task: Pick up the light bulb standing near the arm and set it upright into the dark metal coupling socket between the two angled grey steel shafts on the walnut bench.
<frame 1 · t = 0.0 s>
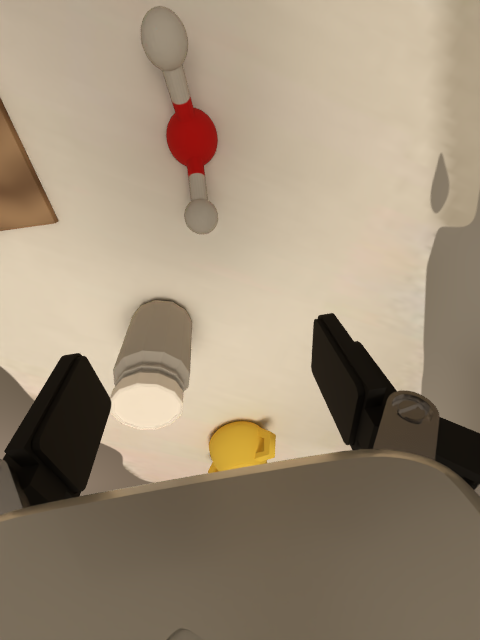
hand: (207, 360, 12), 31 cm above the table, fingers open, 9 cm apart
molecular model: (191, 138, 33), on the table
jar: (163, 320, 47), on the table
yellow sugar bowl: (243, 437, 70), on the table
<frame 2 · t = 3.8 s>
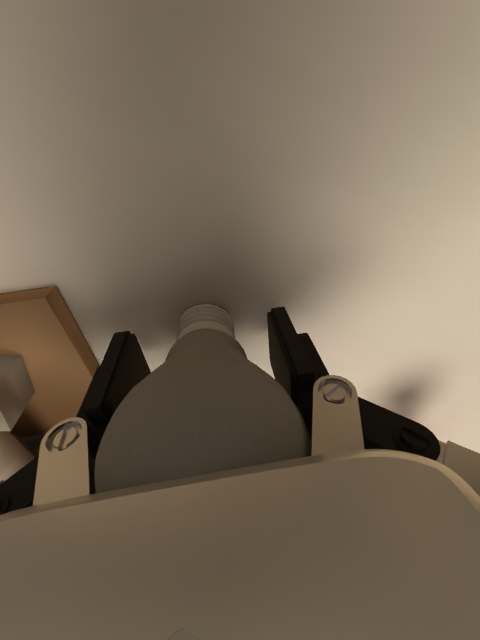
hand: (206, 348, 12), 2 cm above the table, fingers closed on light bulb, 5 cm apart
light bulb: (206, 319, 14), on the table, touching gripper
shaft bench: (44, 467, 19), on the table
when the fingers open (5 cm above the table, at t = 8.8 s): light bulb drops 2 cm, resting on shaft bench.
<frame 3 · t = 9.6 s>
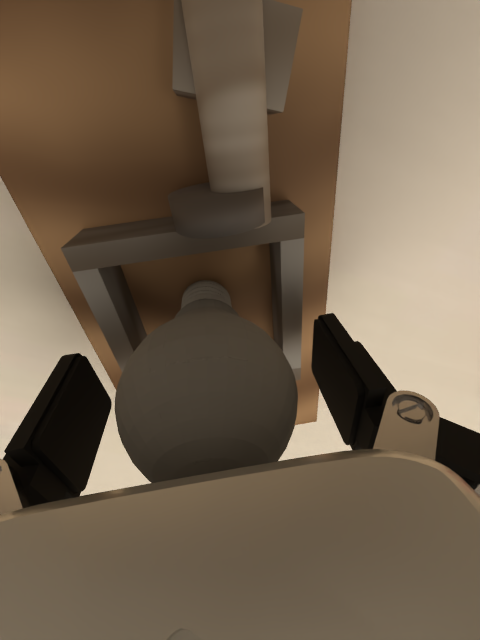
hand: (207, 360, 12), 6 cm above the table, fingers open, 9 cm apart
light bulb: (206, 296, 16), point 1 cm above the table, touching shaft bench
shaft bench: (205, 293, 16), on the table
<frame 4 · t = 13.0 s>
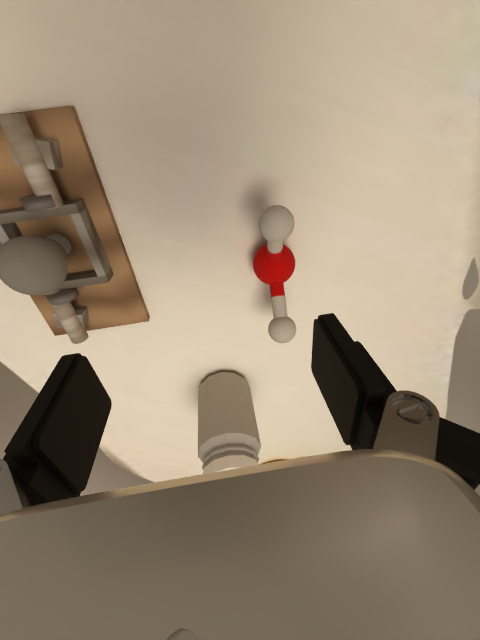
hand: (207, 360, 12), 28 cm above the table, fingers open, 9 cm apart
molecular model: (268, 256, 40), on the table
light bulb: (61, 242, 34), point 1 cm above the table, touching shaft bench
jar: (223, 385, 54), on the table
shaft bench: (64, 242, 35), on the table
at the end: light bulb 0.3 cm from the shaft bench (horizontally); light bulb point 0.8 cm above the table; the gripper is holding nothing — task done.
